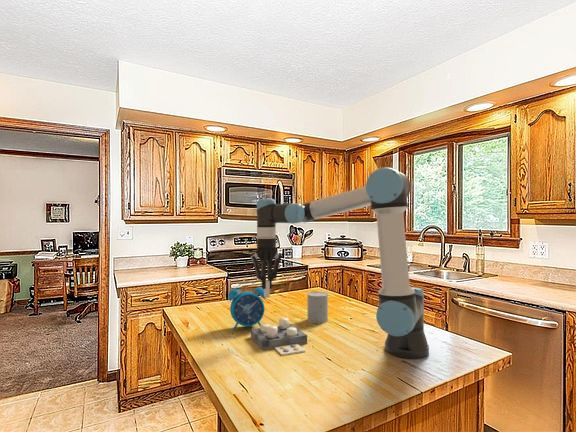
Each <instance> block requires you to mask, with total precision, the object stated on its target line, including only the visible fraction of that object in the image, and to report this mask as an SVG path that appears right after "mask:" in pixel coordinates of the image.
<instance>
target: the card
mask: <svg viewBox="0 0 576 432" xmlns="http://www.w3.org/2000/svg"><path fill="white" fill-rule="evenodd" d="M274 350H276V352H277V353H278V354H279V355H280V356H281V357H282V356H287V355H288V356H289V355H296V354H301V353H306V350H305V349H304V348H303V347H302V346H301V345H300V344H299V345H298V344H292V345H285V346H279V347H275V348H274Z"/></svg>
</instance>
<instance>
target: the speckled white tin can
mask: <svg viewBox="0 0 576 432" xmlns="http://www.w3.org/2000/svg"><path fill="white" fill-rule="evenodd" d="M306 295H307V322H309V323H311V324H325V323H328V321H329V320H328V318H329V317H328V316H329V313H328V312H329V309H328V308H329V303H328V302H329V299H328V295H329V294H328V293H327V292H323V291H311V292H307V294H306Z"/></svg>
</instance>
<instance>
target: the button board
mask: <svg viewBox="0 0 576 432" xmlns="http://www.w3.org/2000/svg"><path fill="white" fill-rule="evenodd" d="M276 326H277V327H278V337H276V338H268V337H267V332H266V333H261V332H260V328H259V327H258V328H252V329H250V337H251V339H252V340H253V341H254V342H255V343H256V344H257V345H258V347H259V348H260V349H261V350H262V351H266V350H272V349H275V347H279V346H285V345H292V344H298V345H299V346H300V345H304V344H307V343H308V334H306V333H305V332H304V331H302V330H301V329H300V328H298V327H296V325H294V324H292V323H291V324H290V323H289V327H294V328H297V336H291V337H288V336H287V329H280V328H279V325H276Z"/></svg>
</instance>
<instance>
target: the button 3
mask: <svg viewBox="0 0 576 432" xmlns="http://www.w3.org/2000/svg"><path fill="white" fill-rule="evenodd" d="M289 324H290V318H289V317H280V318H279V319H278V326H279V328H280V329H287V328H289Z"/></svg>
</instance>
